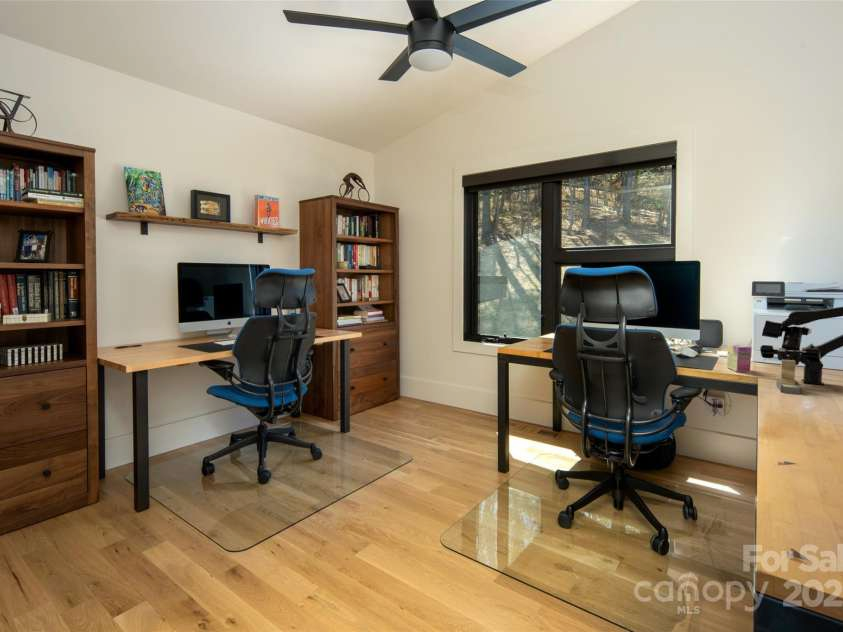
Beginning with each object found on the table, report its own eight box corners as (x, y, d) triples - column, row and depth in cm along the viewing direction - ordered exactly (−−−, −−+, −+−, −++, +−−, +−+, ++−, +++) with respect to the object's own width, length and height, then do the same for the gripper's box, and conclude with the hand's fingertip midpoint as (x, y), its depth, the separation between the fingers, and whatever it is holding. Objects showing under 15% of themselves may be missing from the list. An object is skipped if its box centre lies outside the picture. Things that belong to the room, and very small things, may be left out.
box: (750, 372, 210) (751, 347, 210) (736, 372, 212) (737, 346, 211) (739, 368, 221) (740, 344, 220) (726, 368, 222) (727, 343, 221)
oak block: (780, 382, 182) (781, 359, 181) (793, 383, 180) (794, 360, 179) (782, 384, 178) (783, 361, 178) (795, 385, 176) (796, 361, 176)
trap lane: (776, 385, 184) (776, 378, 184) (795, 387, 181) (795, 380, 181) (780, 392, 174) (781, 385, 174) (801, 394, 171) (801, 386, 170)
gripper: (823, 353, 187) (818, 385, 181) (766, 349, 201) (760, 378, 194) (821, 336, 181) (816, 368, 175) (763, 333, 195) (756, 362, 188)
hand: (786, 370), depth 183 cm, fingers closed
